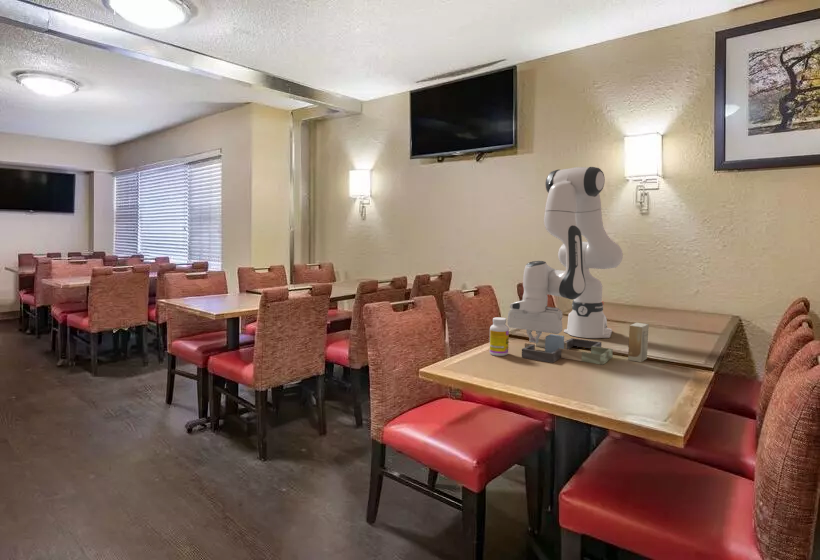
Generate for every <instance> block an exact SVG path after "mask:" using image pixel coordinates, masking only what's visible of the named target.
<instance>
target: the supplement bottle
mask: <svg viewBox="0 0 820 560" xmlns="http://www.w3.org/2000/svg"><path fill="white" fill-rule="evenodd" d="M506 324H507V318H505V317H500V316H499V317H497V316H496V317H493V318H492V324H491V325H490V327H489V348H488V349H489V354H490V355H492V356H495V357H496V356H497V357H500V356H501V357H504V356H507V355H508V354H509V338H510V337H509V333H510V329H509V328H510V327H509V326H508V325H506Z"/></svg>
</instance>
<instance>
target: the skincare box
mask: <svg viewBox="0 0 820 560" xmlns="http://www.w3.org/2000/svg"><path fill="white" fill-rule="evenodd" d="M649 326H650V324H649V323H641V322H634V323H632V324H630V325H629V327H628V329H629V330H628V331H629V332H628V348H627V349H628V351H627V352H628V353H627V360H628V361H632V362H636V363H637V362H638V363H641V362H644V361H645V360H647V359H648V347H649V346H648V345H649Z"/></svg>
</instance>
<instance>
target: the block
mask: <svg viewBox="0 0 820 560" xmlns="http://www.w3.org/2000/svg"><path fill="white" fill-rule="evenodd" d="M544 339H545V348H544V352H548V353H552V352H554V351H556V350H557V349H559V348H561V349H564V342H565V336H564V335H559V334H554V333H550V334H548V335H546V336H545V337H544Z"/></svg>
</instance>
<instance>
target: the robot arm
mask: <svg viewBox="0 0 820 560" xmlns="http://www.w3.org/2000/svg"><path fill="white" fill-rule="evenodd" d="M604 187H605V173H604V172H603V170H602V169H601V168H600V167H596V166H589V167H588V166H587V167H586V166H576V167H575V166H574V167H571V168H564V169H556V170H552V171H550V172H549V173H548V175H547V176H546V178H545V190H546V192H547V193H548V194H547V197H546V201H545V207H544V216H543V225H544V228H545V230H546V232H548V233H549V234H550V235H551V236H553V237H554V238H556V239H558V240H560V241H561V243H562V244H561V245H560V247H559V249H558V252H557V257H558V261H559V262H560V264H561V265H562V266H563V267H564V268H565V270H561V269H555V268H553V267H551V266H550V265H548V264H547V262H546V261H545V260H534V261H530V262H528V263H526V264H525V267H524V269H523V275H522V276H523V277H522V287H523V294H522V299H521V300H518V301H514V302H511V303H510V304H509V308H510V310H509V311H508V313H507V314H508V315H507V326H508V328H512V329H518V330H526V334H527V337H528V338H529V339H528V342H529V343H532V344H533V343H534V344H536V343H538V342H539V338H541V335H542V334H543V333H548V334H549V333H550V334H553V335H559V334H560V333H561V332H562V331H563V332H564V333H566V334H568V335H570V336H572V337H577V338H584V339H585V338H587V339H601V338H602V339H608V338H610V337H611V335H612V333H613V330H612V329H613V328H609V327H608V322H607V320H608V319H607V317H606V315H605V313H604V305H605V302H604V301H603V285H602V282H601V281H600V280H599V279H598V278H597V277H594V276H593V275H592V274H591V272H590V269H594V270H595V269H597V270H599V269H601V270H607V269H616V268H617V267H618V266H620V265H621V263H622V261H623V255H624V254H623V249H622V247H621V246H620V245H619V244H618V243H616V242H615V241H613V240H612V239H611V237H609V235H608V233H607V232H606V230H605V227H604V223H603V215H602V213H603V212H602V202H601V195H600V193H602V191H603V189H604ZM582 237H584V238H585V241H583V238H582ZM548 295H551V296H554V297H560V298H565V299H569V300H571V301H572V304H571V309H572V310H571V311H570V312H569V313H568V315H567V316H568V317H567V325H566V328H565V329H563V320H562V319H563V311H562V310H561V309H559V307H552V306H548V298H549V297H548ZM533 331H534V332H535V335H536V336H534V335H533V334H532V333H533Z"/></svg>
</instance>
